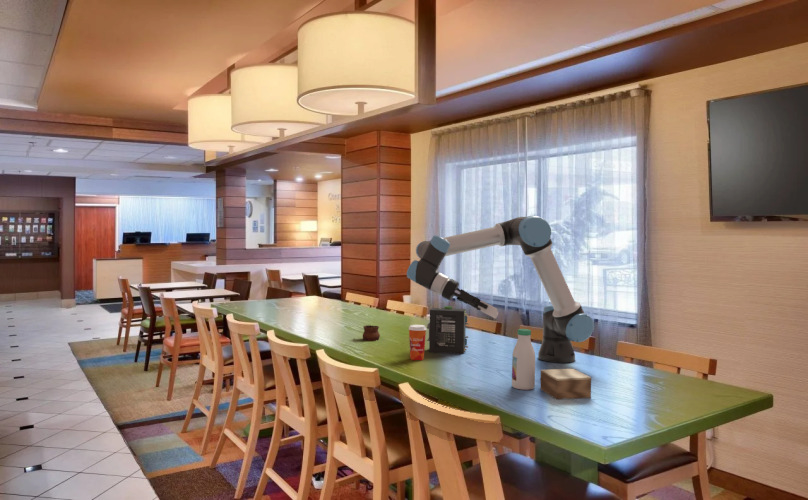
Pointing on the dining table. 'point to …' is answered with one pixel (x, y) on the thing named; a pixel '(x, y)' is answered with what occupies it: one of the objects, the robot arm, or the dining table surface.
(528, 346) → the milk bottle
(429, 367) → the dining table surface
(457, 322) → the router
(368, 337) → the ceramic pot
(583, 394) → the block
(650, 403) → the dining table surface
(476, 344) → the dining table surface
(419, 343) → the paper cup
